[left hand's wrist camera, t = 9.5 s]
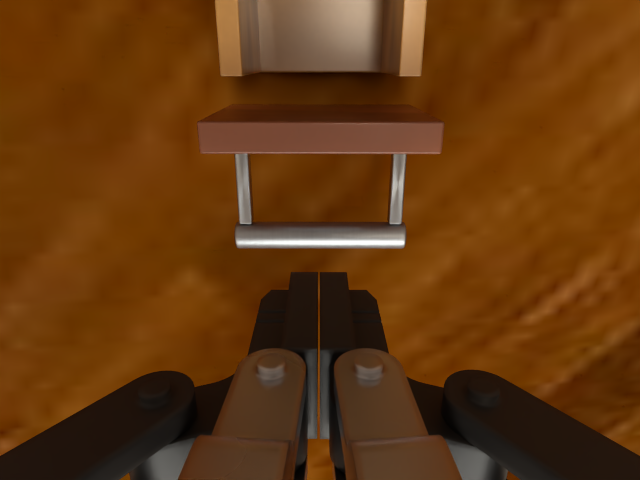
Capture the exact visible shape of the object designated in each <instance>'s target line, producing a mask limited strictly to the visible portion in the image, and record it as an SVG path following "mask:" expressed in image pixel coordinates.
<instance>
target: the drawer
mask: <svg viewBox="0 0 640 480" xmlns="http://www.w3.org/2000/svg"><path fill="white" fill-rule="evenodd" d="M426 7H427V0H215V10H216V23H217V37H218V50H219V63H220V75H221V76H245V75H250V74H255V73H386V74H391V75H396V76H421V71H422V59H423V46H424V33H425V20H426ZM197 128H198V138H199V149H200V153H202V154H235V167H236V182H237V196H238V211H239V222H237V223H236V226H235V244H236V247H237V248H404V247H405V244H406V226H405V223H404V222H402V212H403V198H404V184H405V170H406V156H407V154H440V153H441V152H442V142H443V132H444V122H443V121H441V120H439V119H437V118H435V117H433V116H431V115H429V114H427V113H425V112H423V111H421V110H419V109H417V108H415V107H413V106H411V105H230V106H228V107H226V108H224V109H222V110H220V111H218V112H216V113H214V114H212V115H210V116H208V117H206V118H204V119H202V120H200V121H198V122H197ZM250 154H391V167H390V184H389V201H388V218H387V220H388V222H253V220H254V217H253V199H252V181H251V164H250Z"/></svg>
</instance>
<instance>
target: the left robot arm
mask: <svg viewBox="0 0 640 480" xmlns="http://www.w3.org/2000/svg"><path fill="white" fill-rule="evenodd" d="M317 378H318V272H291V277H290V284H289V290H271V291H270V292H269V293H268V294H267V295H266V296H265V297H263V298H262V299H261V303H260V307H259V311H258V315H257V319H256V323H255V327H254V331H253V336H252V340H251V344H250V348H249V352H248V356H246V357H245V358H244V359H243V360H242V361H241V362H240V363H239V365H238V367H237V370H236V372H235V374H233V375H232V376H230V377H228V378H226V379H224V380H221V381H219V382H215V383H211V384H207V385H203V386H198V387H194V384H193V381H192V380H191V379H190V378H189V377H188V376H187V375H185V374H183V373H180V372H176V371H158V372H153V373H149V374H146V375H144V376H141V377H139V378H137V379H135V380H133V381H132V382H130V383H128V384H126V385H124V386H123V387H121V388H119V389H117V390H116V391H114V392H112V393H110V394H109V395H107V396H105V397H103V398H102V399H100V400H98V401H96V402H95V403H93V404H91V405H89V406H88V407H86V408H84V409H82V410H80V411H79V412H77V413H75V414H73V415H72V416H70V417H68V418H66V419H65V420H63V421H61V422H59V423H58V424H56V425H54V426H52V427H51V428H49V429H47V430H45V431H44V432H42V433H40V434H38V435H37V436H35V437H33V438H31V439H29V440H28V441H26V442H24V443H22V444H21V445H19V446H17V447H15V448H14V449H12V450H10V451H8V452H7V453H5V454H3V455H1V456H0V480H119V479H121V478H122V477H123V476H125V475H126V474H128V473H129V474H130V479H131V480H307V443H308V439H317ZM320 439H329V447H330V457H331V460H332V462H333V480H507V479H506V476H507V472H508V471H510V472H511V473H512V474H514V475H515V476H517V477H518V478H519V479H521V480H640V456H639V455H637V454H635V453H633V452H632V451H630V450H628V449H626V448H625V447H623V446H621V445H619V444H618V443H616V442H614V441H612V440H611V439H609V438H607V437H605V436H603V435H602V434H600V433H598V432H596V431H595V430H593V429H591V428H589V427H588V426H586V425H584V424H582V423H581V422H579V421H577V420H575V419H574V418H572V417H570V416H568V415H567V414H565V413H563V412H561V411H559V410H558V409H556V408H554V407H552V406H551V405H549V404H547V403H545V402H544V401H542V400H540V399H538V398H537V397H535V396H533V395H531V394H530V393H528V392H526V391H524V390H523V389H521V388H519V387H517V386H516V385H514V384H512V383H510V382H508V381H507V380H505V379H503V378H501V377H499V376H497V375H495V374H492V373H489V372H485V371H480V370H463V371H459V372H456V373H454V374H452V375H450V376H449V377H448V378H447V380H446V381H445V384H444V388H442V387H438V386H433V385H429V384H425V383H421V382H418V381H415V380H412V379H410V378H408V377H406V375H405V372H404V370H403V367H402V365H401V363H400V362H399V361H398V360H397V359H396V358H395V357H394V356H392V355H390V354H389V352H388V348H387V343H386V339H385V335H384V330H383V326H382V323H381V317H380V313H379V309H378V305H377V300H376V299H375V298H374V297H373V296H372V295H371V294H370V293H369V292H368V291H367V290H349V288H348V280H347V273H346V272H320Z"/></svg>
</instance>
